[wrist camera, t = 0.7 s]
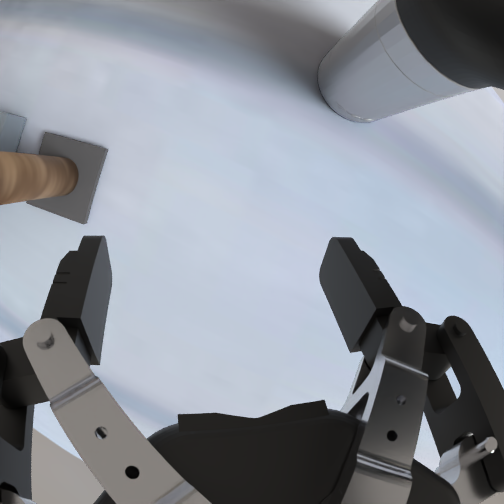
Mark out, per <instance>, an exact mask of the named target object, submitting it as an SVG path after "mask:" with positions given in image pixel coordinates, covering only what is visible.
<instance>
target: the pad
mask: <svg viewBox="0 0 504 504" xmlns="http://www.w3.org/2000/svg"><path fill="white" fill-rule="evenodd" d="M107 152H108V149H105V148H101V147H98V146H94V145H91V144H87V143H84V142H80V141H77V140H73V139H69V138H66V137H62V136H58V135H55V134H51V133H47V132H45V134H44V138H43V141H42V144H41V147H40V151H39V154H38V155H46V156H55V157H63V158H69V159H71V160H72V161H73V162H74V163H75V164H76V166H77V168H78V173H79V178H78V182H77V185H76V187H75V189H74V190H73V191H72V192H71V193H69V194H68V195H64V196H57V197H50V198H42V199H35V200H28V201H27V202H26V203H27V204H30V205H33V206H35V207H38V208H41V209H43V210H46V211H49V212H51V213H54V214H57V215H60V216H62V217H65V218H68V219H70V220H73V221H76V222H79V223H81V224H86V223H87V220H88V216H89V213H90V209H91V205H92V201H93V198H94V194H95V191H96V187H97V184H98V180H99V177H100V174H101V171H102V167H103V164H104V161H105V158H106V155H107Z"/></svg>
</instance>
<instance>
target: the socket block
mask: <svg viewBox="0 0 504 504" xmlns="http://www.w3.org/2000/svg"><path fill="white" fill-rule="evenodd" d="M25 121H26V118H24V117H21V116H17V115H13V114H9V113H5V112H1V111H0V151H4V152H16V150H17V147H18V144H19V140H20V137H21V134H22V130H23V127H24V124H25Z"/></svg>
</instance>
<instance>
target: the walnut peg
mask: <svg viewBox="0 0 504 504" xmlns="http://www.w3.org/2000/svg"><path fill="white" fill-rule="evenodd" d="M78 178H79V173H78V168H77V166H76V164H75V163H74V162H73V161H72V160H71V159H69V158H63V157H55V156H46V155H36V154H26V153H16V152H4V151H0V205H3V204H9V203H15V202H22V201H28V200H35V199H42V198H50V197H57V196H64V195H68V194H69V193H71V192H72V191H73V190H74V189H75V187H76V185H77V182H78Z"/></svg>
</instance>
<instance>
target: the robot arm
mask: <svg viewBox="0 0 504 504" xmlns="http://www.w3.org/2000/svg"><path fill="white" fill-rule="evenodd" d="M318 85H319V88H320V91H321V94H322V95H323V97H324V99H325V101H326V102H327V103H328V105H329V106H330V107H331V108H332V109H333V110H334V111H335V112H336V113H338V114H339V115H341V116H342V117H344V118H346V119H348V120H351V121H353V122H359V123H370V122H373V121H376V120H379V119H382V118H385V117H388V116H392V115H395V114H398V113H401V112H404V111H407V110H410V109H413V108H417V107H420V106H423V105H426V104H429V103H433V102H436V101H439V100H443V99H446V98H450V97H453V96H456V95H460V94H463V93H467V92H471V91H474V90H478V89H481V88H485V87H490V86H492V87H496V88H500V89H503V90H504V0H378V1H377V2H376V3H375V4H374V5H373V6H372V7H371V8H370V9H369V10H368V11H367V12H366V13H365V14H364V15H363V16H362V17H361V18H360V20H359V21H358V22H357V23H356V24H355V25H354V26H353V27H352V28H351V29H350V30H349V31H348V32H347V33H346V34H345V35H344V36H343V37H342V38H341V40H340V41H339V42H338V43H337V44H336V45H335V46H334V47H333V48H332V49H331V50H330V51H329V52H328V54H327V55H326V56H325V57H324V59H323V60H322V61H321V64H320V66H319V69H318ZM319 279H320V284H321V286H322V288H323V291H324V293H325V295H326V298H327V300H328V302H329V304H330V307H331V309H332V311H333V314H334V316H335V318H336V321H337V323H338V325H339V328H340V330H341V332H342V335H343V337H344V339H345V342H346V344H347V347H348V349H349V351H350V353H352V352H358V351H362V353H363V355H364V356H363V357H362V359H361V361H360V363H359V366H358V369H357V372H356V375H355V378H354V381H353V384H352V387H351V389H350V392H349V395H348V397H347V400H346V402H345V404H344V406H343V407H342V409H341V410H340V411H337V410H332V409H327V406H326V403H325V400H321V401H315V402H309V403H302V404H296V405H290V406H288V407H285V408H283V409H280V410H278V411H275V412H273V413H270V414H268V415H265V416H262V417H259V418H247V417H240V416H233V415H226V414H220V413H203V414H178V423H177V424H174V425H170V426H168V427H165V428H163V429H161V430H159V431H157V432H155V433H154V434H152V435H151V436H150V437H148V438H147V439H146V438H145V437H144V436H143V434H142V433H141V432H140V431H139V430H138V428H137V427H136V426H135V425H134V424H133V422H132V421H131V420H130V419H129V417H128V416H127V415H126V414H125V412H124V411H123V410H122V408H121V407H120V406H119V405H118V403H117V402H116V401H115V399H114V398H113V397H112V395H111V394H110V393H109V391H108V390H107V388H106V387H105V386H104V384H103V383H102V382H101V380H100V379H99V378H98V377H97V376H95V375H94V373H93V372H92V370H91V369H90V365H100V359H101V351H102V343H103V336H104V329H105V323H106V316H107V310H108V304H109V299H110V293H111V287H112V270H111V265H110V260H109V254H108V248H107V242H106V238H105V236H83V238H82V240H81V243H80V246H79V248H78V251H69V252H68V253H67V254H66V255H65V257H64V258H63V259H62V260H61V261H60V264H59V266H58V269H57V271H56V275H55V277H54V280H53V284H52V285H51V288H50V291H49V294H48V297H47V300H46V303H45V306H44V309H43V312H42V316H41V319H40V320H38V321H36V322H34V323H33V324H31V325H30V326H29V327H28V329H27V330H26V332H25V334H24V337H21V338H18V339H14V340H10V341H6V342H1V343H0V504H37V503H35V502H34V501H32V492H31V448H32V428H33V415H34V404H38V403H43V402H47V401H50V403H51V404H50V407H51V409H52V411H53V413H54V415H55V417H56V418H57V420H58V422H59V423H60V425H61V427H62V428H63V430H64V432H65V433H66V435H67V437H68V438H69V440H70V441H71V443H72V444H73V446H74V447H75V449H76V450H77V452H78V453H79V455H80V456H81V458H82V459H83V461H84V462H85V463H86V465H87V466H88V468H89V469H90V471H91V472H92V473H93V475H94V476H95V477H96V479H97V480H98V481H99V483H100V484H101V485H102V487H103V488H104V489H105V490H104V491H103V493H102V494H101V495H100V496H99V498H98V499H97V500H96V501H95V503H94V504H479V503H481V502H482V501H484V500H486V499H488V498H491V497H493V496H495V495H498V494H500V493H502V492H504V389H503V387H502V385H501V383H500V381H499V379H498V377H497V375H496V373H495V371H494V369H493V367H492V365H491V363H490V361H489V360H488V358H487V356H486V354H485V352H484V350H483V348H482V347H481V345H480V343H479V341H478V339H477V338H476V336H475V334H474V332H473V331H472V329H471V327H470V326H469V325H468V323H467V322H466V321H464V320H463V319H461V318H459V317H457V316H449V317H447V318H446V319H445V320H444V322H443V323H442V324H441V325H437V324H431V323H425V321H424V319H423V318H422V316H421V315H420V314H419V313H418V312H416V311H415V310H413V309H411V308H409V307H405V306H402V305H401V303H400V301H399V300H398V298H397V296H396V295H395V293H394V291H393V290H392V288H391V287H390V285H389V283H388V282H387V280H386V279H385V277H384V275H383V274H382V272H381V271H380V269H379V267H378V266H377V264H376V263H375V261H374V259H372V258H371V257H370V256H369V255H368V254H367V253H365V252H364V251H361V250H360V249H359V247H358V245H357V244H356V242H355V241H354V239H353V238H350V237H332V238H331V239H330V241H329V244H328V247H327V250H326V253H325V256H324V259H323V261H322V264H321V267H320V272H319ZM450 367H452V369H453V371H454V373H455V375H456V377H457V380H458V382H459V384H460V387H461V393H460V396H459V398H458V399H457V398H456V396H455V393H454V391H453V389H452V387H451V384H450V382H449V380H448V378H447V376H446V373H445V372H446V371H447V370H448V369H449V368H450ZM423 411H424V413H425V416H426V419H427V421H428V424H429V427H430V429H431V432H432V435H433V438H434V441H435V444H436V446H437V449H438V452H439V455H440V458H441V459H440V462H439V467H437V468H436V470H435V472H433V471H431V470H430V469H428V468H427V467H425V466H424V465H423V464H421V463H420V462H418V461H417V460H415V459H414V458H413V457H414V453H415V449H416V444H417V440H418V435H419V431H420V426H421V421H422V416H423Z"/></svg>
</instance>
